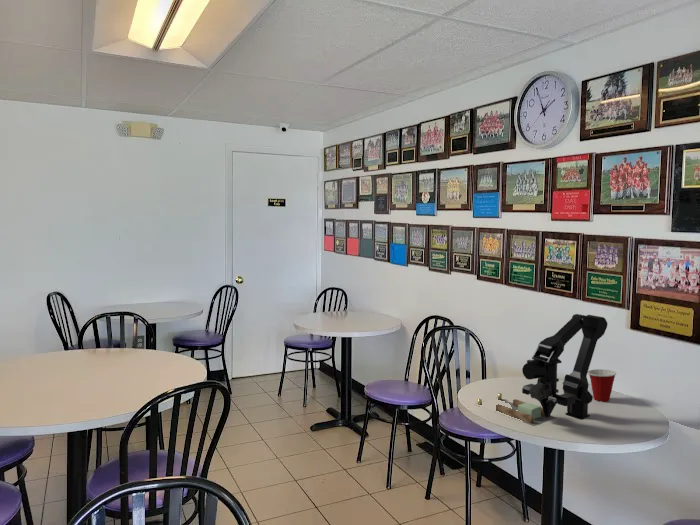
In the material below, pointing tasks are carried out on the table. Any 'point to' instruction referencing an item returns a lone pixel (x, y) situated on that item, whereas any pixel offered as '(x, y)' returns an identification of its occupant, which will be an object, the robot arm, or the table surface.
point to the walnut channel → (517, 412)
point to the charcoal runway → (535, 421)
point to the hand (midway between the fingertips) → (547, 417)
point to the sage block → (530, 409)
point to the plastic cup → (601, 383)
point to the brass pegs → (498, 399)
